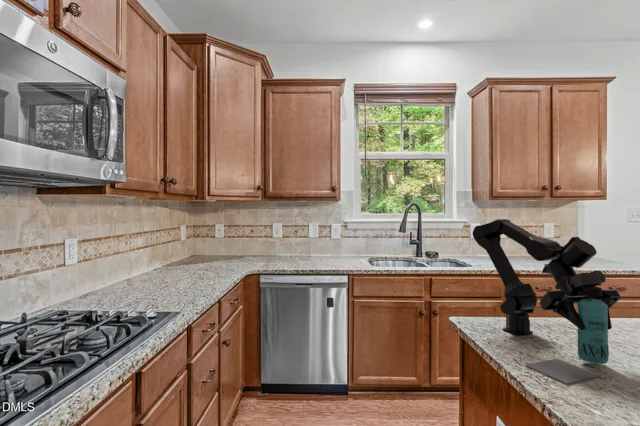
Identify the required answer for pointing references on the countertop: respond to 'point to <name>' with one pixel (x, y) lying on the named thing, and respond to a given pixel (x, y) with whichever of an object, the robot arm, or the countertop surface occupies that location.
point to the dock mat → (563, 371)
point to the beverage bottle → (593, 327)
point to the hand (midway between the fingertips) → (596, 329)
